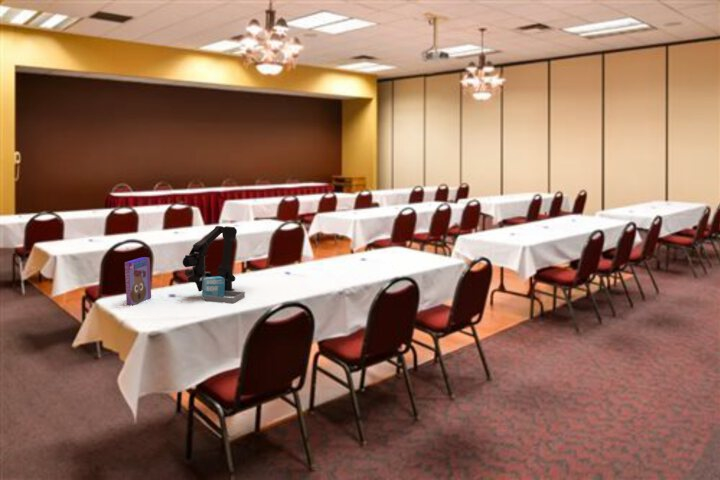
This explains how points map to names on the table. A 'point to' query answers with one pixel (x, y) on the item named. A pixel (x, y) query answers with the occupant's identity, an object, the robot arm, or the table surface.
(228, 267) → the robot arm
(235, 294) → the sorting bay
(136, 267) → the cereal box
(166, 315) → the table surface
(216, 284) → the data package
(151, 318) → the table surface
